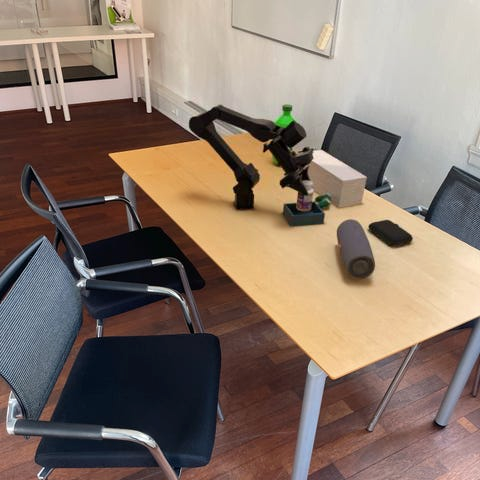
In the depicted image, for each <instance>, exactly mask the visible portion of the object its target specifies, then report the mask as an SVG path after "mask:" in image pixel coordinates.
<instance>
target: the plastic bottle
mask: <svg viewBox="0 0 480 480" xmlns="http://www.w3.org/2000/svg"><path fill="white" fill-rule="evenodd" d="M281 110H282V114H281V115H279V116H278V117H277V118H276V119H275V120H274V121H273V122H274V123H275V125H278V126H281V127H284V128H285V127H287V126H288V125H289V123H291V122H292V121H293V120H295V121H296V123H298V122H297V120H296V119H295V117H294V116H293V115H292V114H291V113H292V111H293V105H292V104H289V103H288V104H282V106H281ZM280 137H281V136H278V137H277V138H276V139H279V138H280ZM288 148H289V149H290V151H291V152H292V151H293V147H288ZM271 155H272V154H271ZM272 160H273V162H274V163H275V165H277V164H278V162H277V160H276V159H275V158H274V156H273V155H272Z"/></svg>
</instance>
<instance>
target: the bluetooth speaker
mask: <svg viewBox="0 0 480 480" xmlns="http://www.w3.org/2000/svg"><path fill="white" fill-rule="evenodd" d="M336 241H337V246H338V251H339V254H340V257H341V260H342V263H343V266H344V269H345V271H346V273H347V275H348V276H349V277H350V278H352V279H356V280H364V279H367V278H369V277H370V276H371V275H372V274H373V273H374V271H375V269H376V261H375V260H376V259H375V256H374V253H373V250H372V247H371V243H370V241H369V238H368V236H367V234H366V231H365V229H364V227H363V225H362V224H361V223H360V222H359V221H358V220H356V219H353V218H352V219H350V218H349V219H346V220H343V221H342V222H341V223H340V224H339V225H338V226H337V228H336Z"/></svg>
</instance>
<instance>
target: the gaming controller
mask: <svg viewBox="0 0 480 480" xmlns="http://www.w3.org/2000/svg"><path fill="white" fill-rule="evenodd" d="M314 200H315V202H316V203H317V202H318V203H317V204H318V206H319V207H320V208H321V209H322V210H323V209H325V208H328V207H329V206H330V205H331V204H332V203H331V195H330V194H329V193H327V194H326V195H317V196H316V197H315V198H314Z"/></svg>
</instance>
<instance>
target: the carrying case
mask: <svg viewBox="0 0 480 480" xmlns="http://www.w3.org/2000/svg"><path fill="white" fill-rule="evenodd" d="M367 228H368V229H369V231H370V232H371V233H372V234H373V235H375V236H376V237H378V238H379V239H381V240H382V241H384V242H385V243H387V245H389V246H391V247H395V246H401V245H405V244H409V243H411V242H412V241H413V240H414V237H413V236H412V234H411V233H410V232H408V231H407V230H405V229H404V228H402V227H401V226H399V224H398V223H394V222H393V221H392V220H390V219H383V220H378V221H373V222H371V223H369V224H368V227H367Z"/></svg>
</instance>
